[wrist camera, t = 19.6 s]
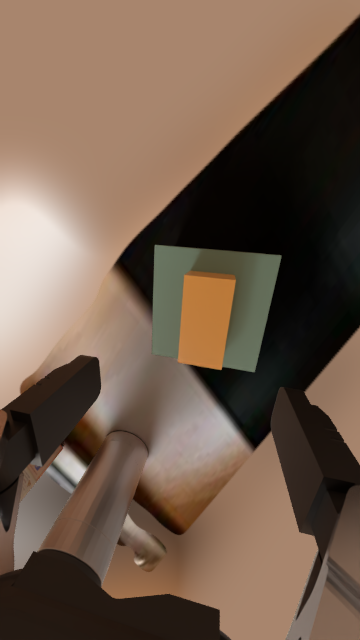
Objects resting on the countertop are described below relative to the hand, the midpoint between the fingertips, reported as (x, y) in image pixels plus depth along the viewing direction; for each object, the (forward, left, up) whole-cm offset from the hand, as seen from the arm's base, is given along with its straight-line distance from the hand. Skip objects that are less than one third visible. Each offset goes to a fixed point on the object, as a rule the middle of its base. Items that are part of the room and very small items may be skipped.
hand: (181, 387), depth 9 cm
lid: (0, 0, -13) cm, 13 cm away
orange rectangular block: (0, 0, -12) cm, 12 cm away
